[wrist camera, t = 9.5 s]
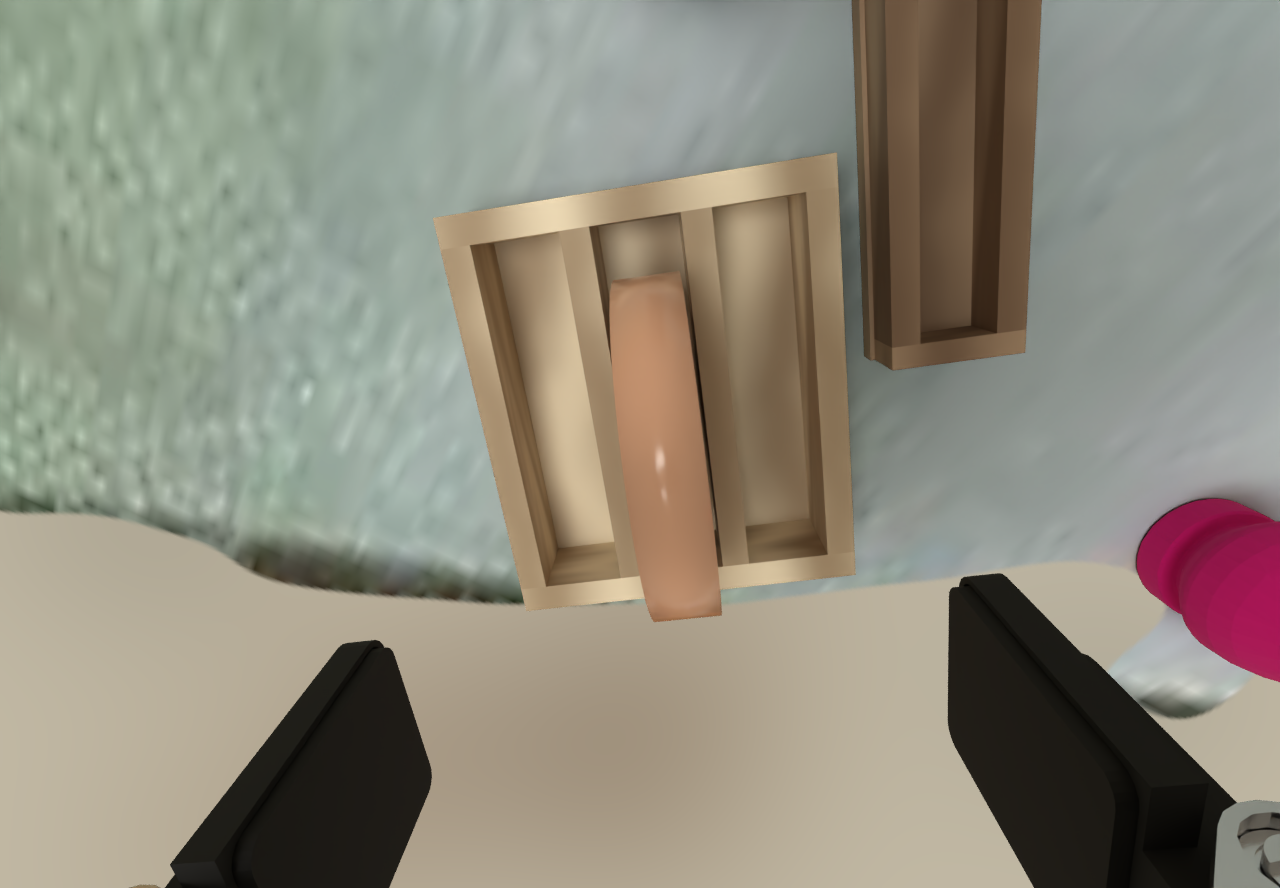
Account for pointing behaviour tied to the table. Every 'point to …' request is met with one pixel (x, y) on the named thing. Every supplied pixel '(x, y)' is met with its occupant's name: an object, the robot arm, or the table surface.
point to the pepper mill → (1220, 579)
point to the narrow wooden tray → (945, 175)
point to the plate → (663, 447)
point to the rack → (723, 362)
